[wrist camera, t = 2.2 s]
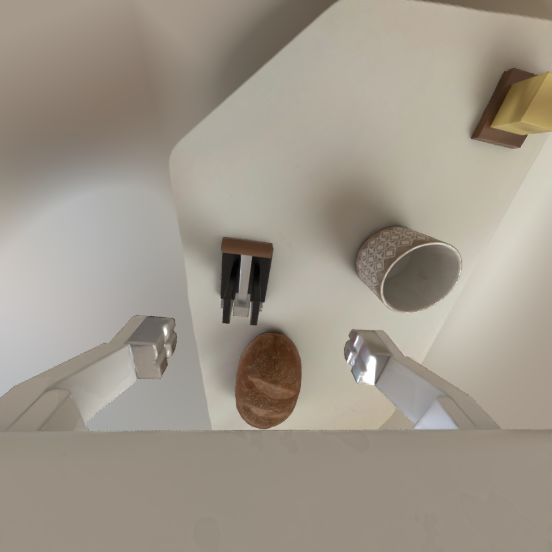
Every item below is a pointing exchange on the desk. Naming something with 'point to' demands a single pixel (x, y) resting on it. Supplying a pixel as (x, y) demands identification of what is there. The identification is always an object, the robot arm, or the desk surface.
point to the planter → (408, 268)
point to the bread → (268, 380)
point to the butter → (517, 109)
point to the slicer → (255, 286)
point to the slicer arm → (245, 267)
